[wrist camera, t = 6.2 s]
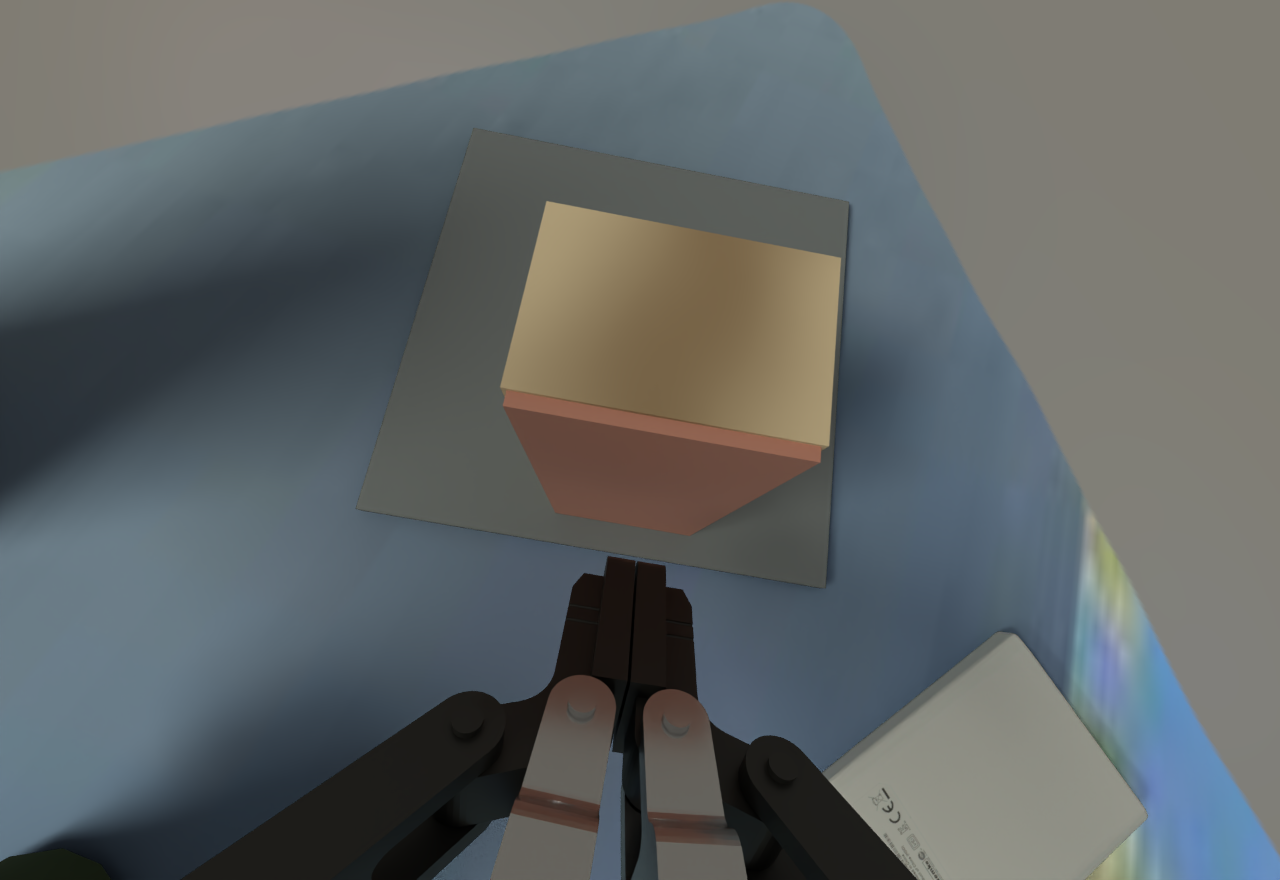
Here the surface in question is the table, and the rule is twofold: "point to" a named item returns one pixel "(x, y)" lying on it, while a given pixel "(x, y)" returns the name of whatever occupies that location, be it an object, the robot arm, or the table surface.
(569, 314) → the oak block
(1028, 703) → the external hard drive
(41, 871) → the character mug
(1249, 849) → the table surface
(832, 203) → the slate mat
